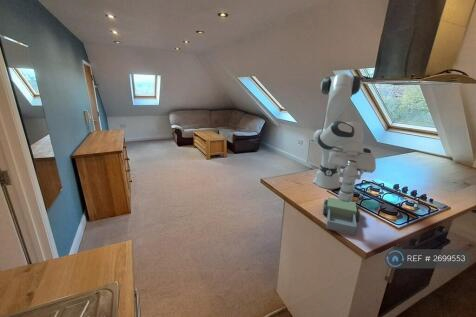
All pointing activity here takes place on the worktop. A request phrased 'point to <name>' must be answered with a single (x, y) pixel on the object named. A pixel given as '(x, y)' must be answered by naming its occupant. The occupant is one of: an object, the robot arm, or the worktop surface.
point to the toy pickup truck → (341, 215)
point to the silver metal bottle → (348, 181)
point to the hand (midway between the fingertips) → (349, 177)
